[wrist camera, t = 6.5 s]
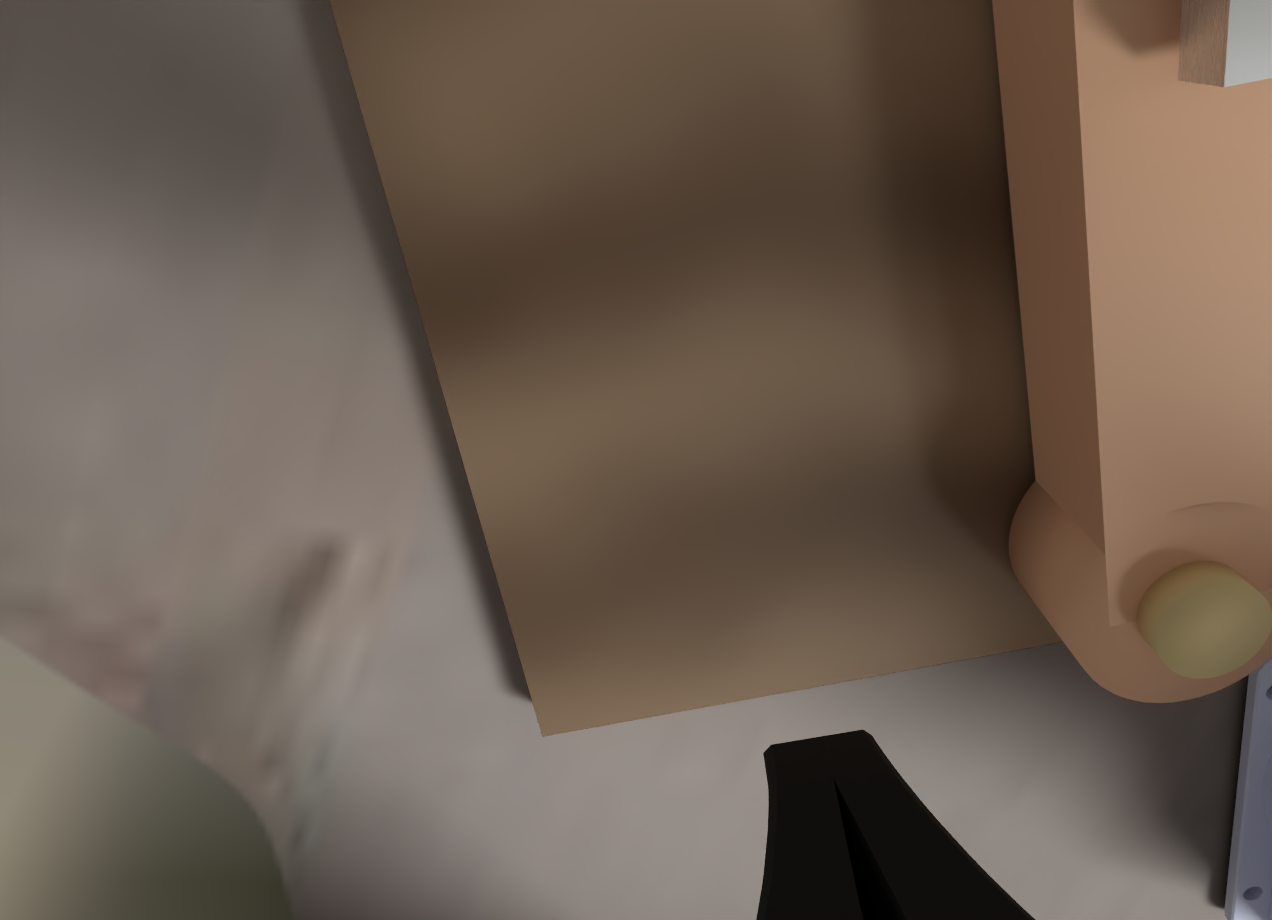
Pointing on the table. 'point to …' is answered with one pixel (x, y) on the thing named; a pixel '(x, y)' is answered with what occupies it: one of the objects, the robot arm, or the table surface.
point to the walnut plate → (716, 331)
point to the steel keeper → (1225, 42)
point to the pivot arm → (1141, 345)
